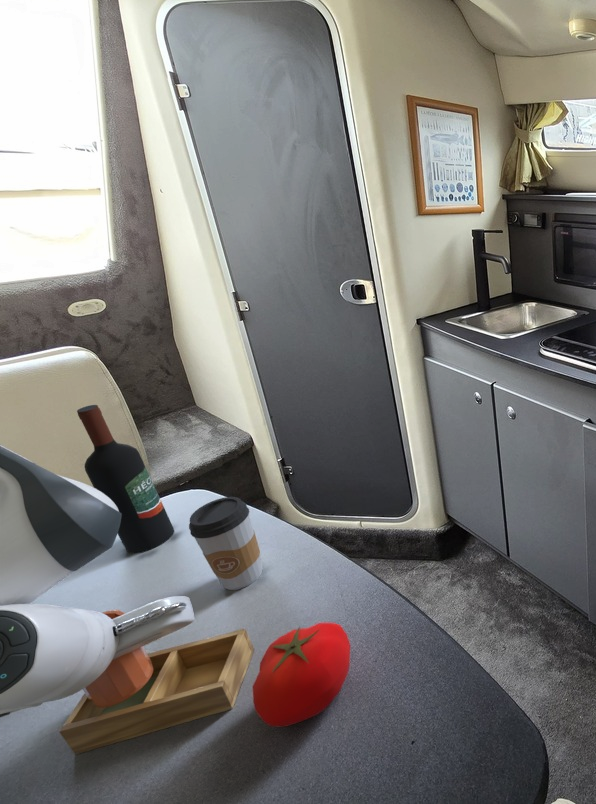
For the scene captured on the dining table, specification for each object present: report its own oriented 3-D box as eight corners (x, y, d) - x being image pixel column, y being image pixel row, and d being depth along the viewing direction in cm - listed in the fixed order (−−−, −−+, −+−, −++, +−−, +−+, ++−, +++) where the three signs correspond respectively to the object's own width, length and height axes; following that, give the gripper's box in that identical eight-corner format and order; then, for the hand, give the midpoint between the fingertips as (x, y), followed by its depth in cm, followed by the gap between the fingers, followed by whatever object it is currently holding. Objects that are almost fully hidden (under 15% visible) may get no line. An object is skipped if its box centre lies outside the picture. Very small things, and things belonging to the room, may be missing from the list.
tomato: (377, 664, 73) (362, 613, 69) (302, 757, 62) (279, 703, 58) (320, 643, 76) (302, 593, 72) (240, 727, 65) (214, 673, 61)
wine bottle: (138, 531, 102) (75, 403, 91) (181, 522, 104) (124, 396, 93) (117, 557, 95) (46, 422, 84) (163, 547, 97) (100, 414, 86)
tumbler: (80, 715, 63) (44, 660, 59) (109, 669, 68) (78, 617, 65) (138, 699, 64) (107, 645, 61) (162, 656, 70) (135, 604, 66)
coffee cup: (206, 601, 85) (175, 532, 79) (227, 565, 92) (199, 500, 87) (261, 589, 87) (234, 521, 81) (276, 555, 94) (252, 490, 89)
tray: (232, 708, 68) (221, 686, 66) (74, 755, 63) (58, 732, 61) (254, 649, 76) (245, 628, 74) (116, 686, 71) (103, 664, 69)
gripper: (173, 577, 61) (199, 588, 72) (-87, 683, 49) (-9, 676, 60) (186, 628, 59) (210, 631, 70) (-81, 750, 48) (-2, 730, 58)
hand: (107, 653), depth 65 cm, fingers closed on tumbler, 6 cm apart
